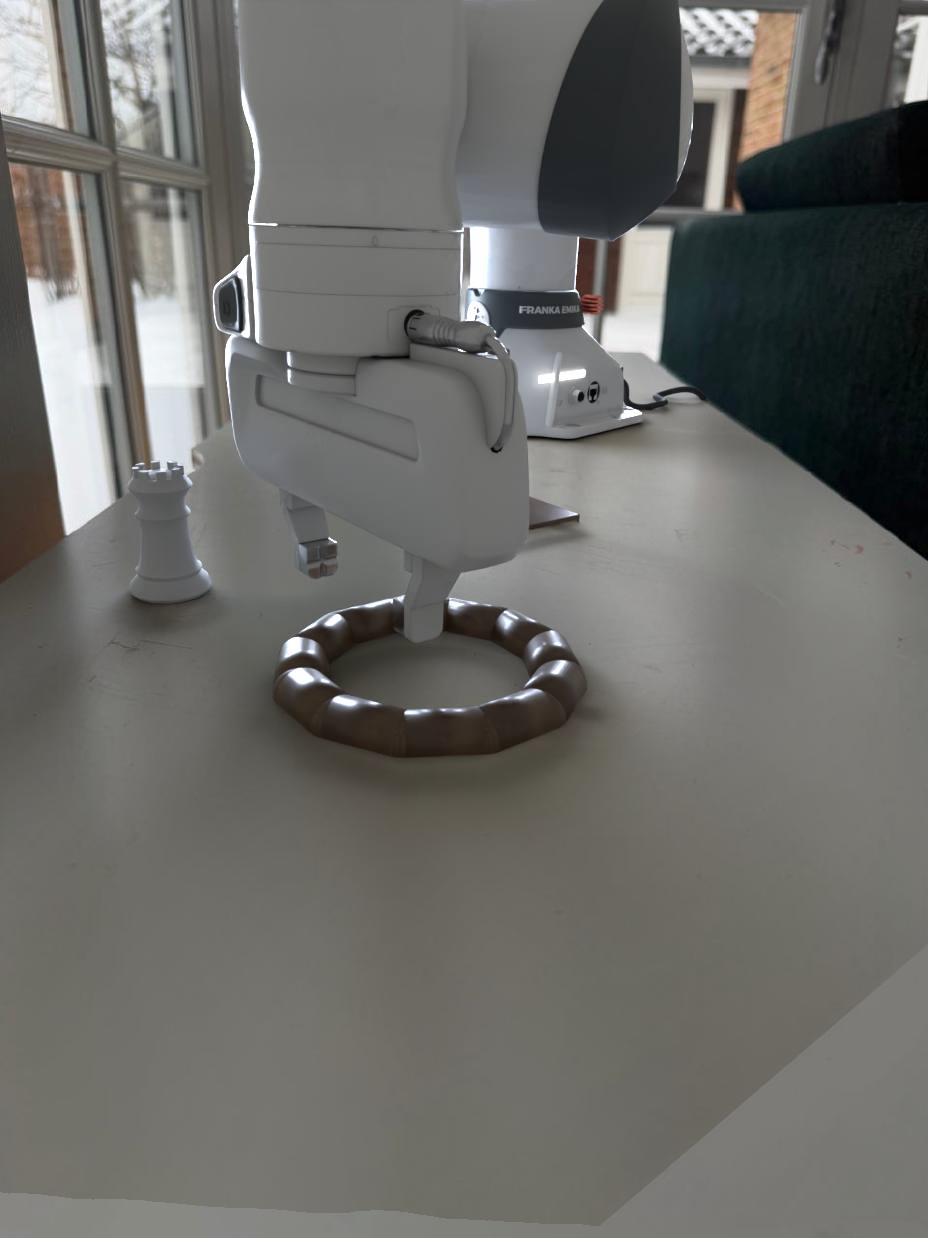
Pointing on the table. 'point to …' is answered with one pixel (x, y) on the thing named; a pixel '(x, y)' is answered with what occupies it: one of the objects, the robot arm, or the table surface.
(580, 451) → the table surface
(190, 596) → the rook chess piece
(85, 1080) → the table surface
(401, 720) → the ring
